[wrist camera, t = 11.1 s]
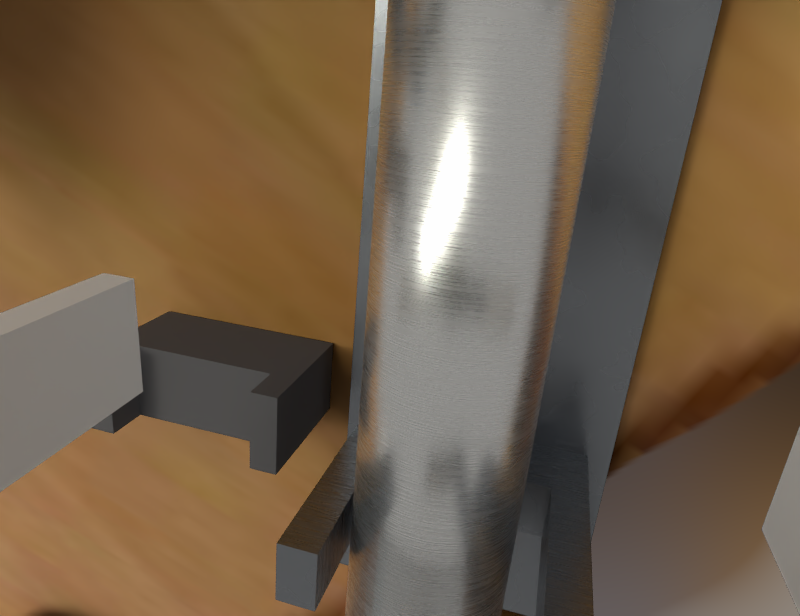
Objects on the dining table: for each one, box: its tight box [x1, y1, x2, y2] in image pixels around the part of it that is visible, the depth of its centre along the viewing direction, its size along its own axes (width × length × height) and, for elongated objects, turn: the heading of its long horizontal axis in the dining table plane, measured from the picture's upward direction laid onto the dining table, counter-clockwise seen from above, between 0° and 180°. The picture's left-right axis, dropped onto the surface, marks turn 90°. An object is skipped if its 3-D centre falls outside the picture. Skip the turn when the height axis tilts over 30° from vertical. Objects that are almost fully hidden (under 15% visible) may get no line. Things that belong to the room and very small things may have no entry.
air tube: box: [345, 0, 616, 616], centre depth 16 cm, size 28×5×5 cm, turn 175°
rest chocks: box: [92, 311, 333, 475], centre depth 20 cm, size 21×8×5 cm, turn 175°
